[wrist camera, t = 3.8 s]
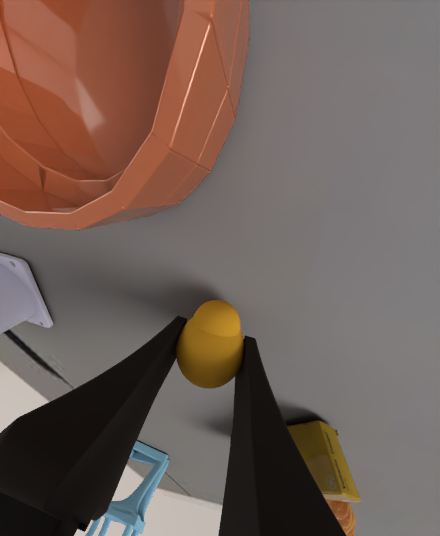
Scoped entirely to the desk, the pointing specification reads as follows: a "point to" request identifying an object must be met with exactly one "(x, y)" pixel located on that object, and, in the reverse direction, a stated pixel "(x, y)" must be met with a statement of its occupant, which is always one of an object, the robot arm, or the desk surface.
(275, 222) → the desk surface
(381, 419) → the desk surface
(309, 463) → the medication box
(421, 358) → the desk surface
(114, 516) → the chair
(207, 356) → the blob
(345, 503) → the pastry
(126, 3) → the bowl
